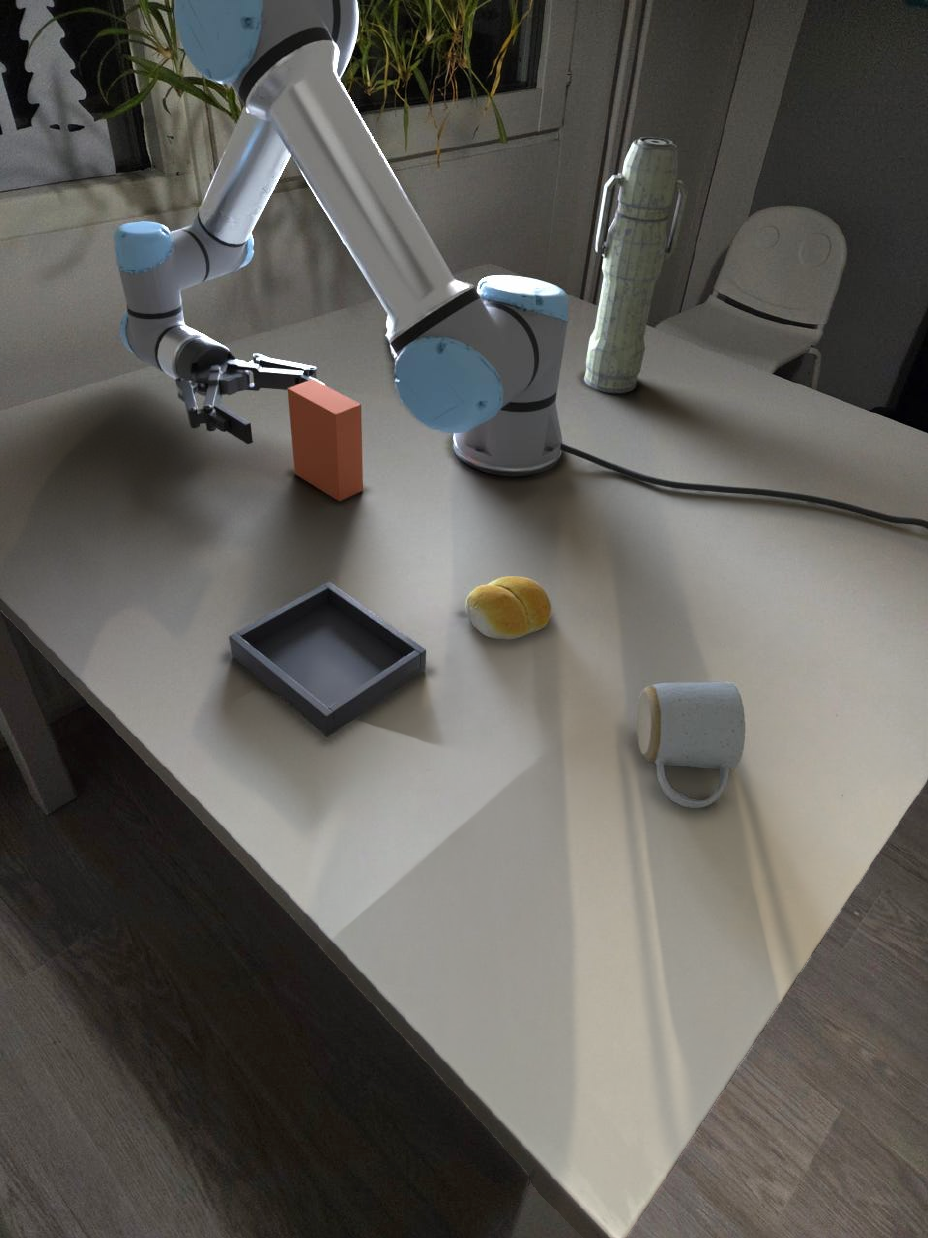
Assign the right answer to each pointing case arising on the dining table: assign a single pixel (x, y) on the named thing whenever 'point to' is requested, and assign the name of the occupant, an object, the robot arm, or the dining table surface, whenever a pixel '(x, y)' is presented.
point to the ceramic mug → (691, 730)
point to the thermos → (633, 260)
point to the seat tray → (328, 656)
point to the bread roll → (508, 607)
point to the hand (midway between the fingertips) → (293, 417)
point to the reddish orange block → (326, 439)
